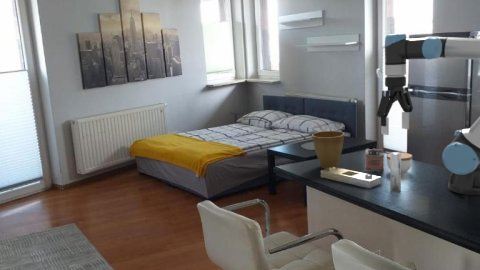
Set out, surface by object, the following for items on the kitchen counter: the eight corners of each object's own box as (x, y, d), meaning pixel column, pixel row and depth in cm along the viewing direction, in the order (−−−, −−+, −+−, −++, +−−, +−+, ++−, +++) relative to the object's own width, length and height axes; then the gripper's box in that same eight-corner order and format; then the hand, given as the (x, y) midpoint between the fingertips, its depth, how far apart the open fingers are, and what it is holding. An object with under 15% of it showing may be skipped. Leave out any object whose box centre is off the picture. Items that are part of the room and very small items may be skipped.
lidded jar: (415, 175, 208) (415, 153, 207) (390, 176, 209) (390, 155, 207) (407, 168, 219) (407, 148, 217) (383, 169, 219) (383, 149, 217)
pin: (402, 190, 189) (403, 153, 187) (397, 192, 187) (397, 155, 184) (393, 188, 192) (394, 151, 190) (388, 190, 190) (388, 153, 187)
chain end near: (381, 183, 199) (381, 174, 198) (369, 188, 194) (369, 178, 193) (350, 177, 211) (350, 168, 210) (338, 181, 206) (338, 172, 205)
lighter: (364, 170, 219) (364, 149, 217) (366, 168, 222) (366, 147, 220) (383, 172, 216) (382, 150, 214) (384, 170, 219) (384, 148, 217)
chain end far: (361, 179, 207) (361, 170, 206) (349, 183, 202) (349, 174, 201) (332, 173, 219) (332, 164, 218) (320, 176, 214) (320, 168, 213)
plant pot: (323, 161, 240) (322, 129, 237) (350, 165, 230) (350, 132, 227) (306, 168, 229) (305, 135, 226) (334, 172, 219) (333, 138, 216)
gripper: (405, 72, 192) (405, 125, 196) (366, 78, 176) (367, 135, 181) (422, 73, 186) (422, 127, 190) (384, 79, 171) (384, 138, 175)
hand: (395, 131), depth 185 cm, fingers open, 13 cm apart
